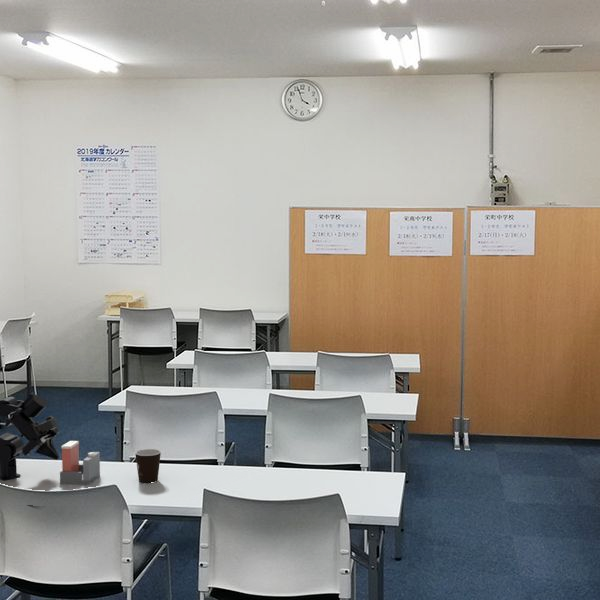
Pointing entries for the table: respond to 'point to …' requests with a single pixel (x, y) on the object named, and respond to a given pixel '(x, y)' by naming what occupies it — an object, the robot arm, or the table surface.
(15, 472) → the robot arm
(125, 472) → the table surface
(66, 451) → the red rectangular block
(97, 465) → the grey stepped block
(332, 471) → the table surface
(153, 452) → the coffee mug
